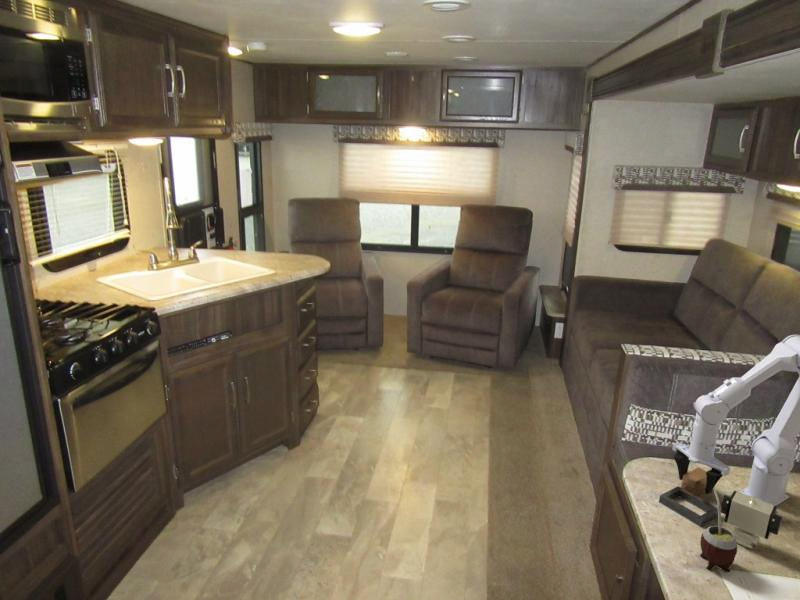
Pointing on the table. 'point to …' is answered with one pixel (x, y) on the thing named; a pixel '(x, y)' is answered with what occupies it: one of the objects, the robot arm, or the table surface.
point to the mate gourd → (718, 545)
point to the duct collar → (685, 512)
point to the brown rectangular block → (695, 481)
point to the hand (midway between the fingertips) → (695, 485)
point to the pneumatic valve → (750, 518)
